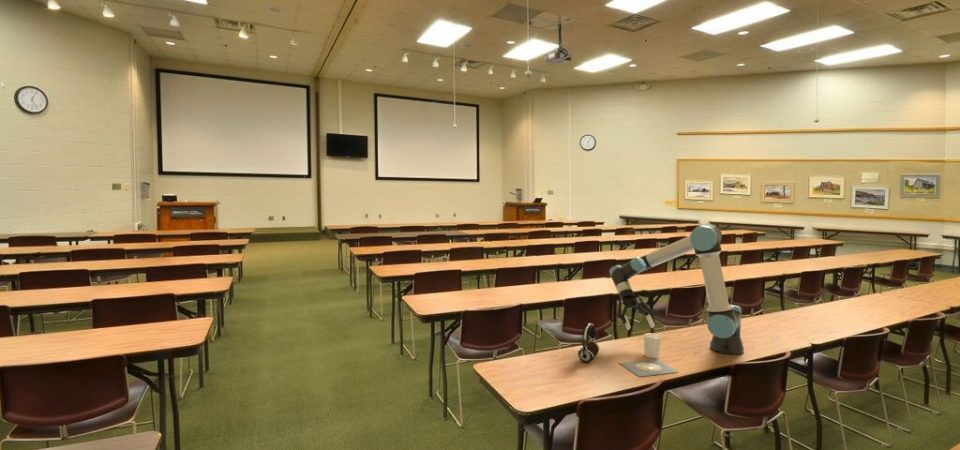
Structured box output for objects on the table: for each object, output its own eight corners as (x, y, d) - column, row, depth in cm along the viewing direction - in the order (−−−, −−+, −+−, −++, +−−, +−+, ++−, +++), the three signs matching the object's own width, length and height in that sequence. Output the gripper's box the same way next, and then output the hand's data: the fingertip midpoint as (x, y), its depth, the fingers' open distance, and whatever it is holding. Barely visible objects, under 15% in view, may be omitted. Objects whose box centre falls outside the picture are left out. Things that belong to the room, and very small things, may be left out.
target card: (656, 359, 218) (656, 358, 218) (678, 372, 203) (678, 371, 203) (619, 363, 213) (619, 362, 213) (639, 377, 198) (639, 376, 198)
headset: (591, 366, 210) (591, 325, 208) (575, 363, 213) (575, 322, 212) (600, 355, 224) (601, 316, 223) (585, 352, 228) (586, 314, 226)
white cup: (661, 359, 219) (662, 338, 218) (644, 358, 220) (645, 337, 220) (658, 353, 226) (659, 333, 226) (642, 352, 228) (642, 332, 227)
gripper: (643, 294, 249) (659, 329, 236) (601, 297, 243) (616, 333, 230) (649, 287, 244) (666, 322, 231) (607, 289, 238) (622, 326, 225)
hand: (641, 328), depth 230 cm, fingers open, 13 cm apart
